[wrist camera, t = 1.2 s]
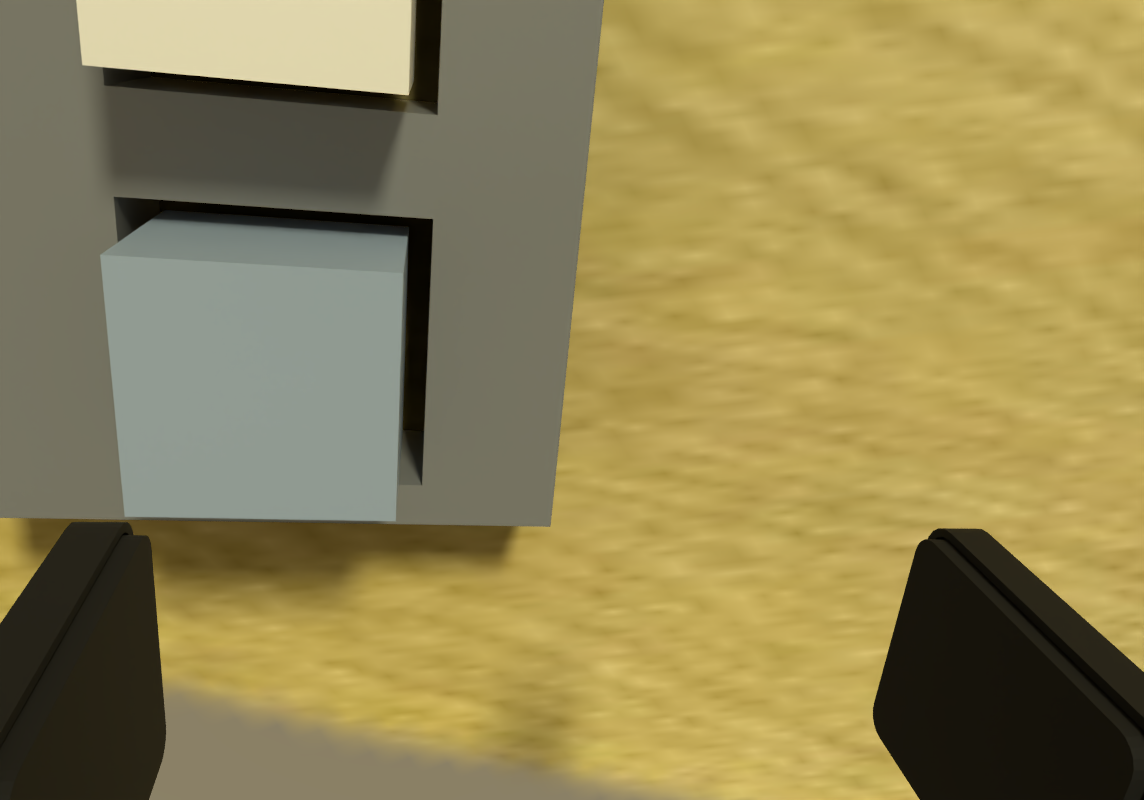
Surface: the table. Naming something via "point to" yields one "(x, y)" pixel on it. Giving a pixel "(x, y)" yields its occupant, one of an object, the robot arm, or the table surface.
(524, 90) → the keypad base
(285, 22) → the off-white key
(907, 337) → the table surface
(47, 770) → the robot arm
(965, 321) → the table surface
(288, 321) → the slate-blue key
